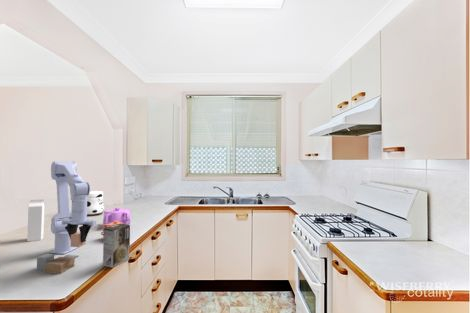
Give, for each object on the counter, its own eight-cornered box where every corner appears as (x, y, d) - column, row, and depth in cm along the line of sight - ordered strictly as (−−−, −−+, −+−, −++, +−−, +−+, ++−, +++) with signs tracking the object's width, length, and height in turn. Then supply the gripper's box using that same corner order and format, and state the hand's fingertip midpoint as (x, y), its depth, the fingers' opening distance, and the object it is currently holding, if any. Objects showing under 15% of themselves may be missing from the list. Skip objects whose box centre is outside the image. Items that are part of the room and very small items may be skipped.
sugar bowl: (122, 242, 133) (122, 223, 134) (95, 242, 132) (96, 223, 133) (130, 235, 146) (130, 218, 146) (106, 235, 145) (106, 218, 145)
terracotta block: (77, 243, 108) (77, 232, 108) (85, 243, 108) (86, 232, 108) (70, 246, 104) (70, 235, 104) (79, 247, 104) (79, 235, 104)
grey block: (45, 265, 103) (45, 253, 103) (53, 266, 103) (54, 254, 103) (36, 269, 99) (37, 257, 99) (45, 270, 99) (46, 258, 99)
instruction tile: (66, 255, 114) (66, 254, 114) (78, 256, 113) (78, 255, 113) (52, 262, 106) (52, 261, 106) (65, 263, 105) (65, 262, 105)
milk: (30, 238, 136) (31, 199, 137) (43, 237, 139) (44, 198, 139) (27, 241, 131) (28, 200, 131) (41, 240, 134) (42, 200, 134)
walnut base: (59, 264, 104) (59, 256, 104) (74, 265, 103) (74, 257, 103) (44, 272, 97) (45, 263, 97) (60, 273, 96) (61, 264, 96)
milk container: (108, 213, 200) (109, 192, 200) (86, 217, 185) (86, 194, 185) (96, 211, 209) (97, 190, 209) (75, 214, 194) (75, 192, 194)
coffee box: (119, 257, 113) (120, 222, 113) (129, 260, 110) (130, 224, 110) (101, 265, 104) (103, 227, 104) (112, 268, 102) (113, 229, 102)
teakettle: (102, 230, 154) (103, 211, 154) (103, 223, 169) (103, 206, 170) (131, 227, 162) (132, 209, 162) (129, 221, 177) (130, 204, 177)
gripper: (56, 211, 103) (55, 243, 103) (88, 212, 102) (87, 245, 102) (69, 208, 110) (68, 238, 110) (99, 209, 109) (98, 239, 109)
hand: (78, 241), depth 106 cm, fingers closed on terracotta block, 4 cm apart
